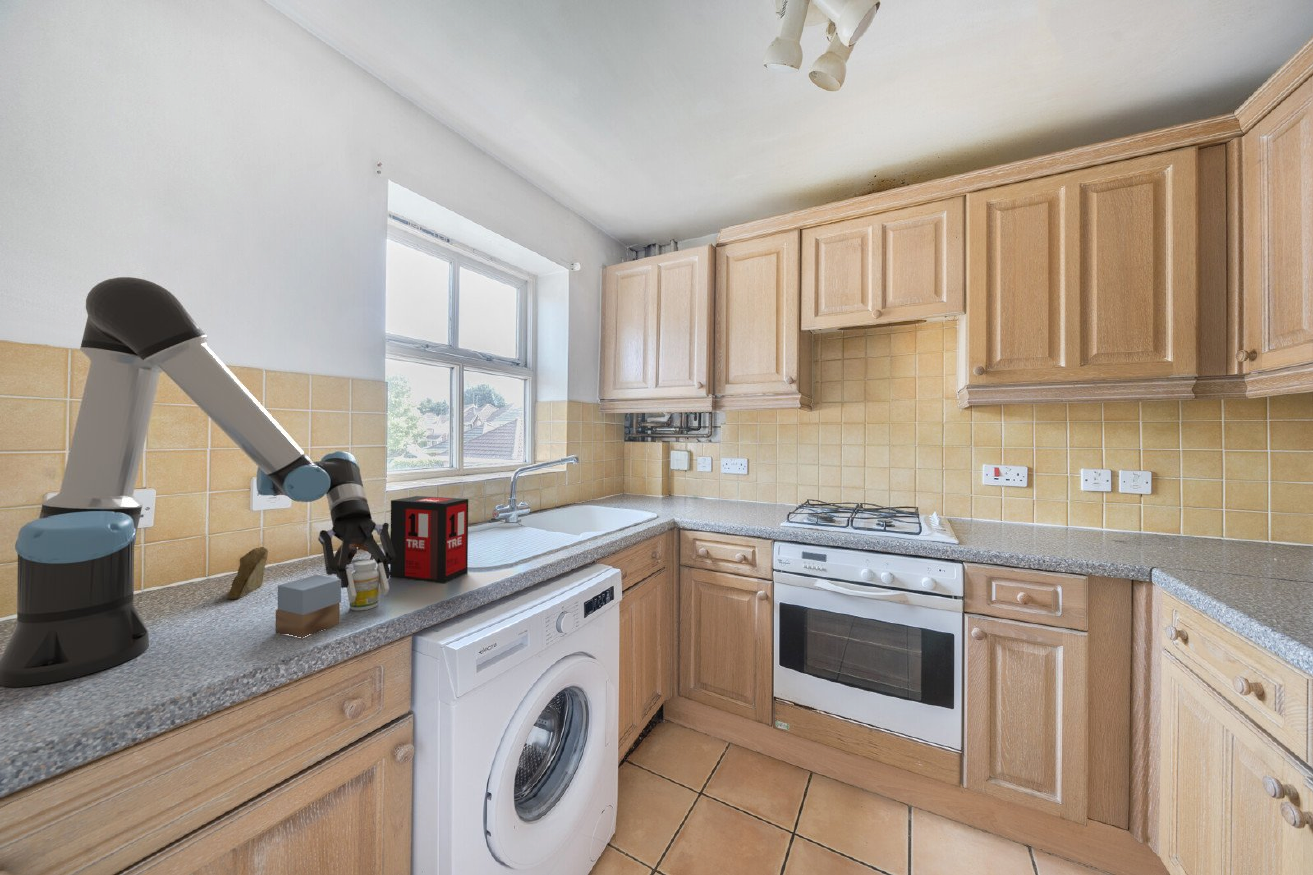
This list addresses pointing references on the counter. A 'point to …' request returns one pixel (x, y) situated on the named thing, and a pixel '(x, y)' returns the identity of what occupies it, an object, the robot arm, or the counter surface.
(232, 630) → the counter surface
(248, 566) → the rock
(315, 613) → the walnut block
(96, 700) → the counter surface
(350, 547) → the pottery mug
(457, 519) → the cleaning product box
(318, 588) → the slate-blue block
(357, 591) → the supplement bottle
